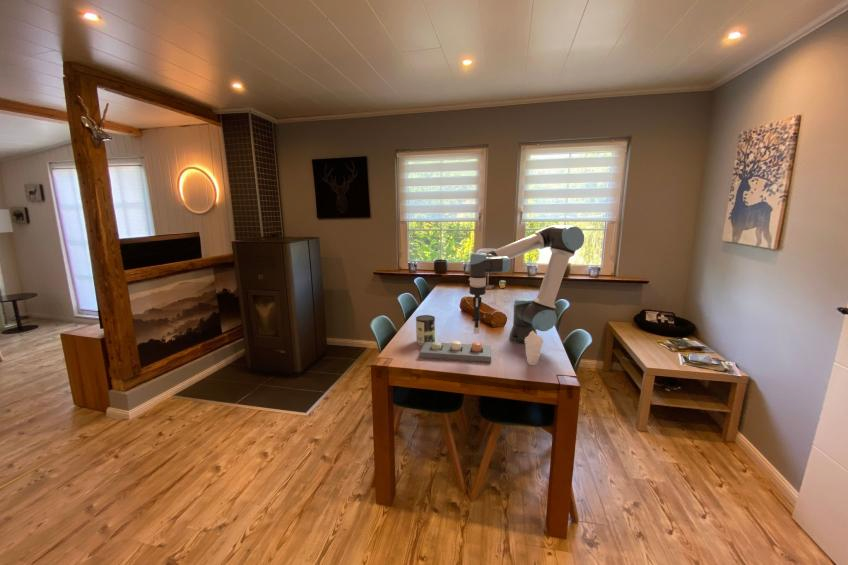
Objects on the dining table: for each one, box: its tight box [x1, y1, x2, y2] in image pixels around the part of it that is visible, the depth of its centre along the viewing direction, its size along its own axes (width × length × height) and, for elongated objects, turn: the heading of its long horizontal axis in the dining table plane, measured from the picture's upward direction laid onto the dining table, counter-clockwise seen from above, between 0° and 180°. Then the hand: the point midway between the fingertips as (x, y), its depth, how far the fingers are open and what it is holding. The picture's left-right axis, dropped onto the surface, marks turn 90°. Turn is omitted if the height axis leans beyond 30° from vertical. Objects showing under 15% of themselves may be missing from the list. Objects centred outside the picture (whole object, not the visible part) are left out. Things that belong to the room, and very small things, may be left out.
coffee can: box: [415, 314, 436, 346], centre depth 187 cm, size 10×10×14 cm
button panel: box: [419, 342, 492, 363], centre depth 171 cm, size 34×14×3 cm, turn 80°
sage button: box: [431, 341, 442, 350], centre depth 173 cm, size 5×5×4 cm
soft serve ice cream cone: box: [524, 331, 544, 366], centre depth 159 cm, size 8×8×16 cm
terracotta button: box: [471, 341, 483, 353], centre depth 169 cm, size 5×5×4 cm
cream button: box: [450, 340, 462, 351], centre depth 171 cm, size 5×5×4 cm
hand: (476, 333), depth 168 cm, fingers closed
